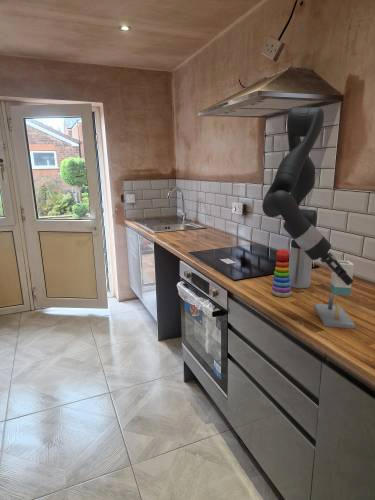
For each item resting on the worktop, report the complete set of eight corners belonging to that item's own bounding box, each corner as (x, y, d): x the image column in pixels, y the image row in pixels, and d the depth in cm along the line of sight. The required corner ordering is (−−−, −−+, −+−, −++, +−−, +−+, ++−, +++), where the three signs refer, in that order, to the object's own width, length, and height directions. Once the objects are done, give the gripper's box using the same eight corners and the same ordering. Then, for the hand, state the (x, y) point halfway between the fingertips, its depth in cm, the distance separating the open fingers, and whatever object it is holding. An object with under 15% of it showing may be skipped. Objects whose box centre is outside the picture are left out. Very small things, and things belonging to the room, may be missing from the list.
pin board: (313, 306, 119) (315, 290, 118) (339, 308, 118) (341, 292, 116) (324, 326, 104) (326, 308, 102) (354, 328, 102) (357, 310, 101)
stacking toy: (287, 290, 135) (290, 247, 131) (294, 297, 127) (298, 251, 123) (268, 290, 135) (271, 247, 131) (274, 298, 127) (277, 251, 123)
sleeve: (329, 289, 107) (333, 260, 105) (345, 290, 106) (349, 261, 104) (333, 294, 102) (337, 263, 100) (350, 295, 102) (354, 264, 99)
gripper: (327, 237, 94) (366, 280, 95) (316, 230, 108) (350, 267, 109) (307, 254, 96) (345, 295, 97) (298, 245, 110) (331, 281, 111)
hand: (347, 280), depth 103 cm, fingers closed on sleeve, 4 cm apart
